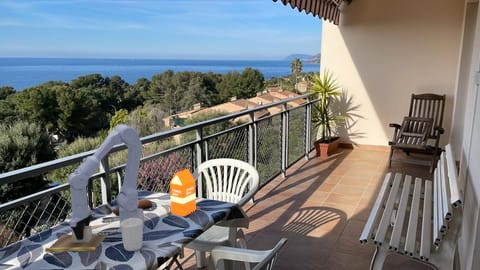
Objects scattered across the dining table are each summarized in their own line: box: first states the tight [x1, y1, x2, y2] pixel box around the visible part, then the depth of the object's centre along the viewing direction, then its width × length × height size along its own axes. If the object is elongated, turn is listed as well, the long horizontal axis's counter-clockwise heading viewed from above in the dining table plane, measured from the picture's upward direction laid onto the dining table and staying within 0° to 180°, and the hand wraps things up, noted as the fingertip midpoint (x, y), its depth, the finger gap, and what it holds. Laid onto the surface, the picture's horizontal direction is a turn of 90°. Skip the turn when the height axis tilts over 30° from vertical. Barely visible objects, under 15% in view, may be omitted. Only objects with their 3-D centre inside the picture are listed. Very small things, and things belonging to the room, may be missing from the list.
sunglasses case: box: [111, 199, 153, 217], centre depth 178 cm, size 18×7×7 cm
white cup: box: [120, 218, 144, 252], centre depth 139 cm, size 8×8×10 cm
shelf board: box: [44, 233, 108, 253], centre depth 143 cm, size 18×14×2 cm
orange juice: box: [169, 168, 197, 217], centre depth 173 cm, size 8×9×20 cm
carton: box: [71, 225, 93, 242], centre depth 145 cm, size 4×6×5 cm, turn 90°
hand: (82, 236), depth 145 cm, fingers open, 4 cm apart
